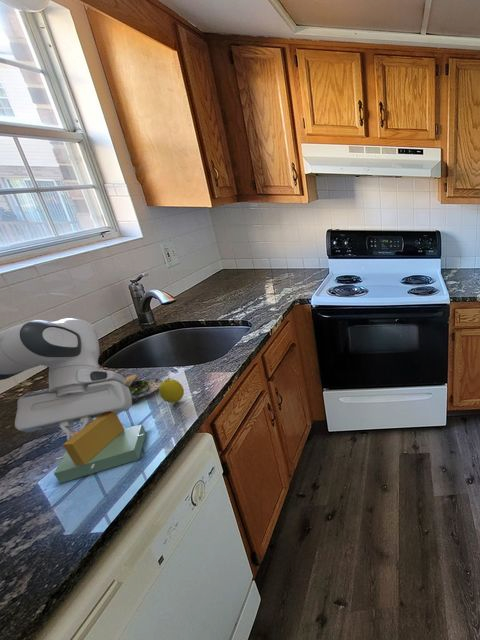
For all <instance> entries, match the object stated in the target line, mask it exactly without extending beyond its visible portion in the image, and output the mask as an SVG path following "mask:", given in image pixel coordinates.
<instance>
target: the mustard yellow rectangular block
mask: <svg viewBox="0 0 480 640" xmlns="http://www.w3.org/2000/svg"><path fill="white" fill-rule="evenodd" d="M124 429H125V428H124V426H123V424H122V422H121V420H120V418H119V417H118V413H113V412H110V411H109V412H104V413H103V414H101V415H100V416H99V417H96V418H94V419H93V421H92V422H91V423H90V424H89V425H87V426H86V427H85V428H83V429H82V430H81V431H79V430H78V431H79V432H78V433H77V434H76V435H74V436H73V437H72V438H70V439H69V440H68V441H67V440H66V441H65V442H64V443H63V444H62V446H63V447H64V449H65V452H66V451H67V452H68V454H69V456H70V457H71V459H72V461H73V462H74V464H75V465H85V464H86V463H87V462H88V461H90V460H91V459H92V458H93V457H94V456H95V455H96V454H97V453H99V452H100V451H101V450H102V449H103V448H104V447H105V446H106V445H108V444H109V443H110V442H111V441H112V440H113V439H114V438H116V437H117V436H118V435H119V434H120V433H121V432H122V431H123V430H124Z"/></svg>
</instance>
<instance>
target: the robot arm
mask: <svg viewBox="0 0 480 640" xmlns="http://www.w3.org/2000/svg"><path fill="white" fill-rule="evenodd" d="M98 336H99V335H98V333H97V330H96V328H95V327H94V325H93V324H92V323H90V322H88V321H86V320H84V319H79V318H72V317H70V318H69V317H68V318H60V319H58V320H55V321H48V320H43V319H33V320H30V321H26V322H23V323H20V324H17V325H14V326H11V327H8V328H6V329H3V330H0V381H4V380H7V379H10V378H12V377H14V376H16V375H19V374H21V373H23V372H26V371H27V370H31V369H33V368H36V367H39V366H44V367H48V369H49V370H48V388H44V389H40V390H36V391H29V392H27V393H26V392H25V394H24V395H22V396H21V397H19V398H18V400H17V410H16V415H15V419H14V428H15V429H16V430H17V431H19V432H23V433H33V432H37V431H42V430H46V429H50V428H51V429H52V428H56V427H59V428H60V429H61V430H62V431H63V432H64V433H65V434H66V442H67V441H68V440H69V439H70V438H72V437H73V436H74V435H76V434H77V433H78V432H79V431H81V430H82V429H83V428H85V427H86V426H87V425H89V424H90V423H91V422H92V421H94V419H96V418H98V417H99V416H100V415H101V414H103V413H104V412H109V411H110V412H113V413H116V414H119V413H123V412H127V411H129V410H130V409H131V408H132V406H133V403H132V399H131V394H130V391H129V388H128V387H127V386H125V385H124V384H125V383H126V377H125V376H124V375H121V374H120V373H118V372H115V371H112V370H104V369H103V370H102V369H101V367H100V365H99V358H100V355H101V353H100V351H101V350H100V342H99V337H98ZM78 422H80V423H82V424H81V426H80V428H79V430H73V429H72V428H73V427H74V423H78Z"/></svg>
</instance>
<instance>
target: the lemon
mask: <svg viewBox="0 0 480 640" xmlns="http://www.w3.org/2000/svg"><path fill="white" fill-rule="evenodd" d="M158 393H159V396H160V398H161V399H162V400H163V401H164V402H166V403H169V404H170V403H173V404H178V402H179V401H181V399H183V397H184V394H185V390H184V386H183V385H182V384H181V382H179V381H178V380H177V379H171V378H166V379H165V380H163V381H162V383H161V385H160V387H159V388H158Z"/></svg>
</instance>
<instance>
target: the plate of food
mask: <svg viewBox="0 0 480 640" xmlns="http://www.w3.org/2000/svg"><path fill="white" fill-rule="evenodd" d="M125 379H126V383H125V384H124V385H125V386H127V387H128V388H129V391H130V394H131V399H132V404H135V403H137V399H141V398H144V397H147V396H150V395H151V394H153V393H154V392H156V391H157V390H159V387H160V385H161V383H162V382H163V381H162V379H160V378H145V379H139V375H136V374H133V375H129V376H126V377H125Z"/></svg>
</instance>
